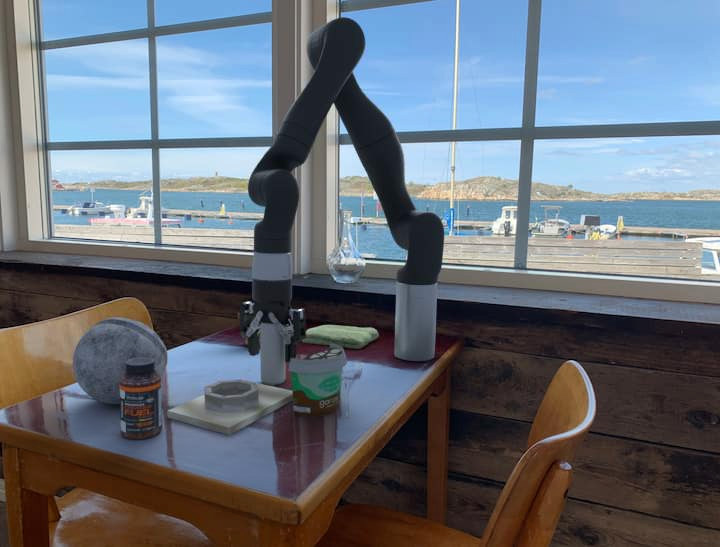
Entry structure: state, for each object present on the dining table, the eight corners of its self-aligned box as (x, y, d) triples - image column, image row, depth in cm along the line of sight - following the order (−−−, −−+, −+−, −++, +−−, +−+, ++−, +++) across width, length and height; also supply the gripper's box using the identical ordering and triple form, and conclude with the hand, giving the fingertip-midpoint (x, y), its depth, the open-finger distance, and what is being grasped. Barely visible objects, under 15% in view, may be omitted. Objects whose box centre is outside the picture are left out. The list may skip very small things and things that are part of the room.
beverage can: (280, 386, 106) (280, 325, 104) (256, 384, 107) (256, 323, 105) (288, 378, 111) (289, 319, 109) (265, 376, 112) (265, 318, 110)
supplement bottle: (120, 443, 81) (117, 368, 79) (120, 427, 86) (117, 357, 85) (164, 437, 83) (162, 364, 82) (161, 422, 89) (159, 353, 87)
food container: (318, 426, 88) (319, 365, 87) (288, 417, 92) (288, 358, 90) (359, 402, 99) (360, 348, 97) (331, 395, 102) (331, 342, 100)
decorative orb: (182, 391, 102) (180, 311, 100) (135, 422, 88) (132, 330, 86) (110, 384, 105) (107, 306, 103) (54, 413, 91) (49, 324, 89)
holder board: (240, 385, 106) (240, 366, 106) (296, 398, 100) (296, 378, 100) (167, 417, 90) (167, 395, 90) (229, 435, 84) (229, 411, 84)
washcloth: (319, 332, 150) (319, 320, 150) (380, 339, 144) (380, 327, 143) (295, 343, 138) (295, 330, 138) (360, 352, 132) (361, 339, 131)
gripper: (314, 277, 106) (312, 359, 108) (255, 270, 112) (254, 348, 115) (291, 281, 99) (290, 369, 101) (230, 274, 106) (230, 357, 108)
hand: (271, 358), depth 108 cm, fingers open, 8 cm apart
